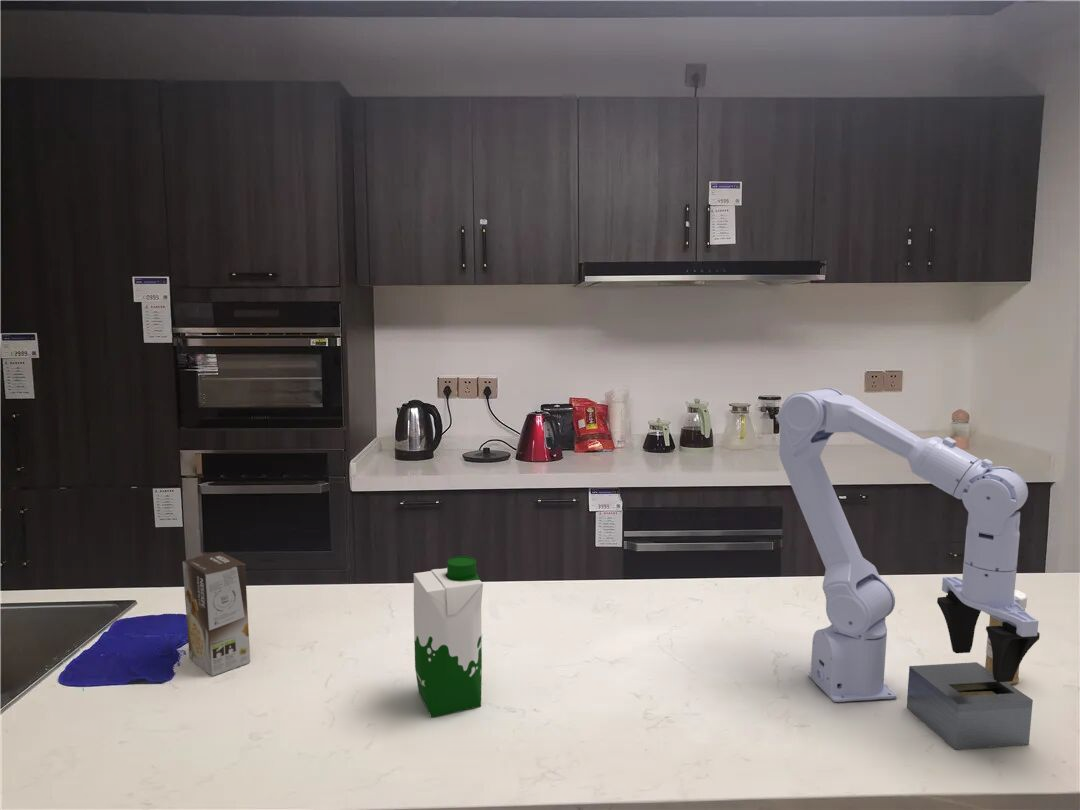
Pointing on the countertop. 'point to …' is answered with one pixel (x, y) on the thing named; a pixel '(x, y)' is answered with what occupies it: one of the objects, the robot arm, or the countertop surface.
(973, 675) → the box
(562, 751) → the countertop surface
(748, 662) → the countertop surface
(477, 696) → the milk carton
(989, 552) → the robot arm
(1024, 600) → the sprinkles bottle
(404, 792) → the countertop surface
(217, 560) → the coffee box
